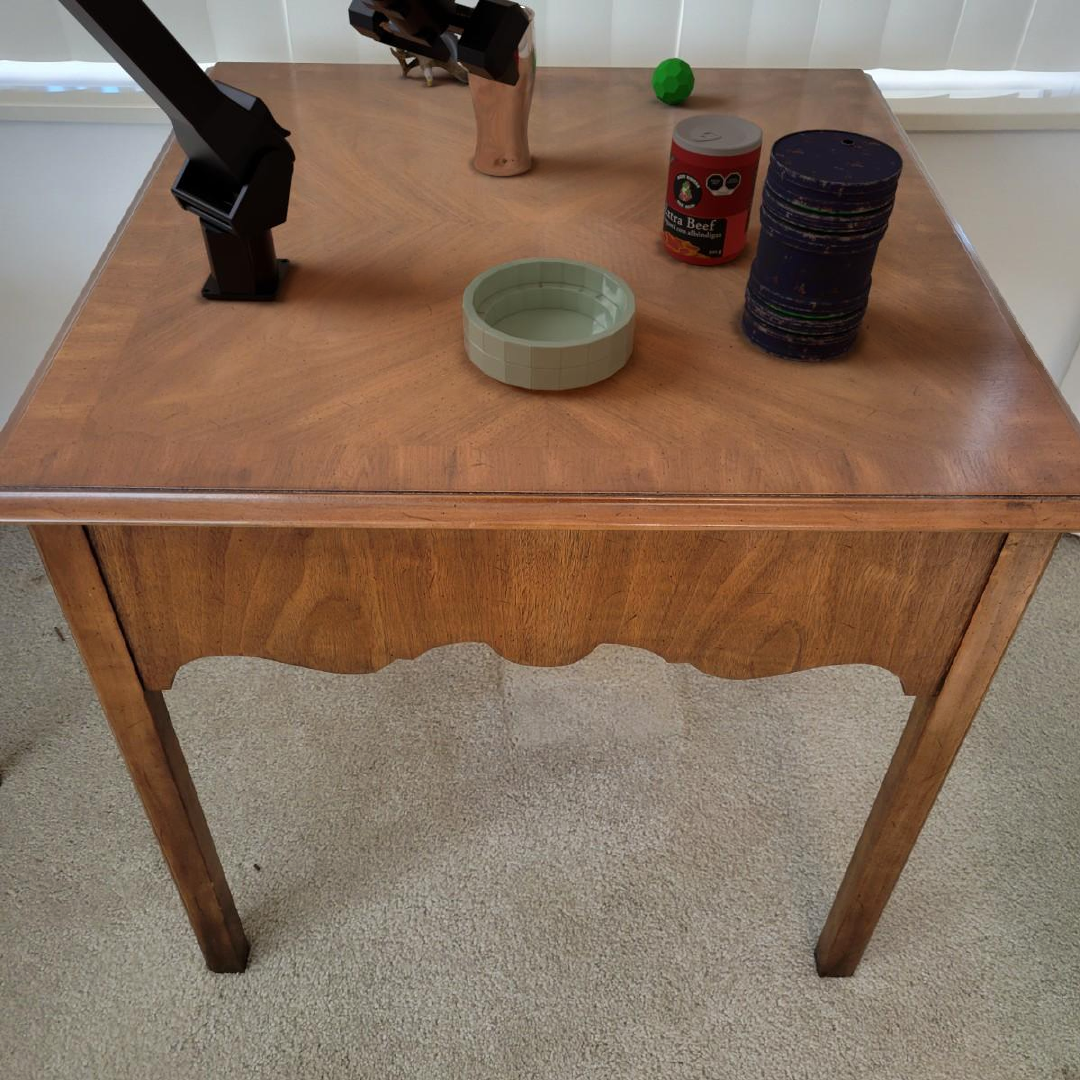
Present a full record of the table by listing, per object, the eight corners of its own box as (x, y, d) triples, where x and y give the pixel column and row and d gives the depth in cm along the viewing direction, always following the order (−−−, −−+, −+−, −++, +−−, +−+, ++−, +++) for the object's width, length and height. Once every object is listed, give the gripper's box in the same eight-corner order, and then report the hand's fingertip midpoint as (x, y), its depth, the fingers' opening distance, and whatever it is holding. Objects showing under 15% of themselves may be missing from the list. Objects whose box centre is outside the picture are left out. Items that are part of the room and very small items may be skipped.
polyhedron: (695, 109, 120) (699, 67, 117) (653, 110, 120) (657, 68, 117) (687, 93, 124) (692, 52, 121) (647, 94, 124) (651, 53, 120)
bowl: (633, 399, 78) (638, 349, 75) (457, 393, 79) (454, 343, 75) (629, 306, 88) (633, 259, 85) (472, 301, 88) (470, 254, 85)
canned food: (644, 247, 96) (655, 130, 88) (695, 219, 100) (709, 105, 92) (710, 276, 92) (727, 157, 84) (760, 246, 96) (781, 129, 89)
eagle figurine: (393, 84, 122) (467, 71, 121) (385, 20, 121) (459, 7, 119) (410, 99, 129) (479, 87, 128) (402, 39, 128) (471, 27, 127)
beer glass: (534, 179, 106) (536, 25, 96) (467, 177, 106) (462, 23, 96) (536, 151, 111) (537, 2, 101) (472, 150, 111) (467, 0, 101)
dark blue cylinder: (837, 375, 81) (883, 196, 71) (722, 341, 84) (750, 165, 74) (872, 318, 87) (920, 145, 77) (764, 288, 91) (795, 119, 80)
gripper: (514, -103, 81) (594, 14, 95) (357, -138, 90) (451, -27, 103) (449, 27, 82) (538, 124, 96) (300, -20, 91) (401, 75, 105)
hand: (481, 69), depth 100 cm, fingers open, 9 cm apart
